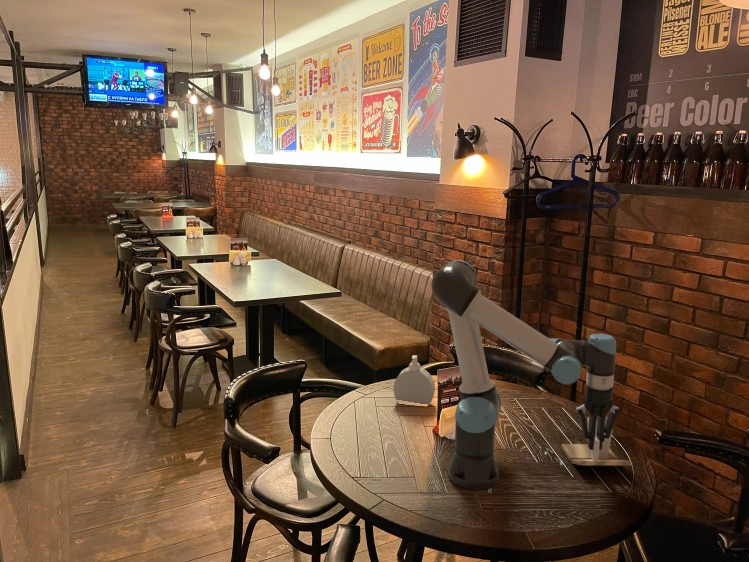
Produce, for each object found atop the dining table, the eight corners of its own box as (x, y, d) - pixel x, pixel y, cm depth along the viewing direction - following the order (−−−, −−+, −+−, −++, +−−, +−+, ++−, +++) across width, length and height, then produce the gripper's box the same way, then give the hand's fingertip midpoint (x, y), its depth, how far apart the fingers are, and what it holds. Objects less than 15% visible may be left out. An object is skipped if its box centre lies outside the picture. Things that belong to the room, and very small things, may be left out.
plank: (581, 465, 169) (580, 461, 169) (571, 463, 178) (571, 459, 178) (630, 465, 169) (630, 461, 169) (618, 463, 178) (618, 459, 178)
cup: (613, 462, 178) (616, 427, 176) (587, 460, 180) (589, 426, 177) (608, 449, 186) (610, 416, 183) (583, 447, 187) (585, 414, 185)
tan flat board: (570, 461, 179) (570, 458, 178) (561, 447, 188) (561, 444, 188) (617, 462, 178) (617, 458, 178) (606, 447, 188) (606, 444, 187)
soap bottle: (392, 404, 222) (393, 356, 218) (395, 399, 227) (396, 352, 223) (432, 408, 218) (433, 360, 214) (435, 403, 223) (436, 355, 219)
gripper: (581, 390, 163) (576, 465, 167) (626, 390, 163) (620, 465, 167) (573, 381, 170) (568, 452, 175) (616, 381, 170) (610, 452, 175)
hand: (594, 458), depth 171 cm, fingers closed
